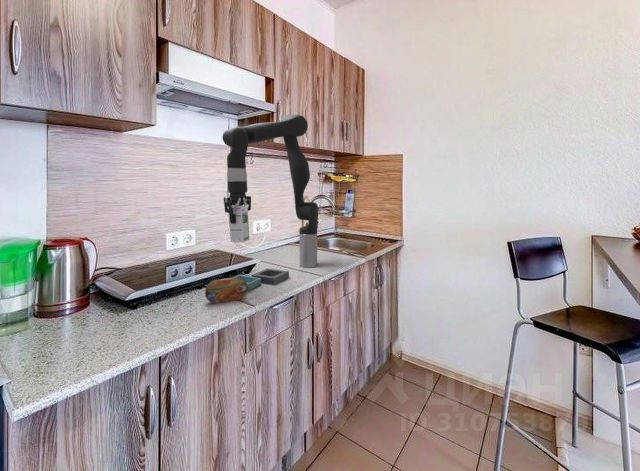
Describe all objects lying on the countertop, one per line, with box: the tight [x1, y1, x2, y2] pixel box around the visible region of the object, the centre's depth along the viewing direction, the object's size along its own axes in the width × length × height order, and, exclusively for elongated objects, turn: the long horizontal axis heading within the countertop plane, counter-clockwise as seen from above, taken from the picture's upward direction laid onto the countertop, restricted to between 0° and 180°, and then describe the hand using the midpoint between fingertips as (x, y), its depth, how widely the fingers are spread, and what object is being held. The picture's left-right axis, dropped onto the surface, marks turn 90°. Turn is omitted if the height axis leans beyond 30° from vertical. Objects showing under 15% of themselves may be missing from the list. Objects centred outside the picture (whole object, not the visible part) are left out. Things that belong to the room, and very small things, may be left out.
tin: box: [204, 276, 249, 304], centre depth 114 cm, size 15×3×8 cm, turn 114°
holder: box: [250, 268, 290, 286], centre depth 140 cm, size 12×12×3 cm
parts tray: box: [232, 274, 262, 292], centre depth 129 cm, size 12×12×3 cm
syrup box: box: [228, 205, 250, 243], centre depth 125 cm, size 6×6×14 cm
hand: (239, 222), depth 125 cm, fingers closed on syrup box, 6 cm apart
